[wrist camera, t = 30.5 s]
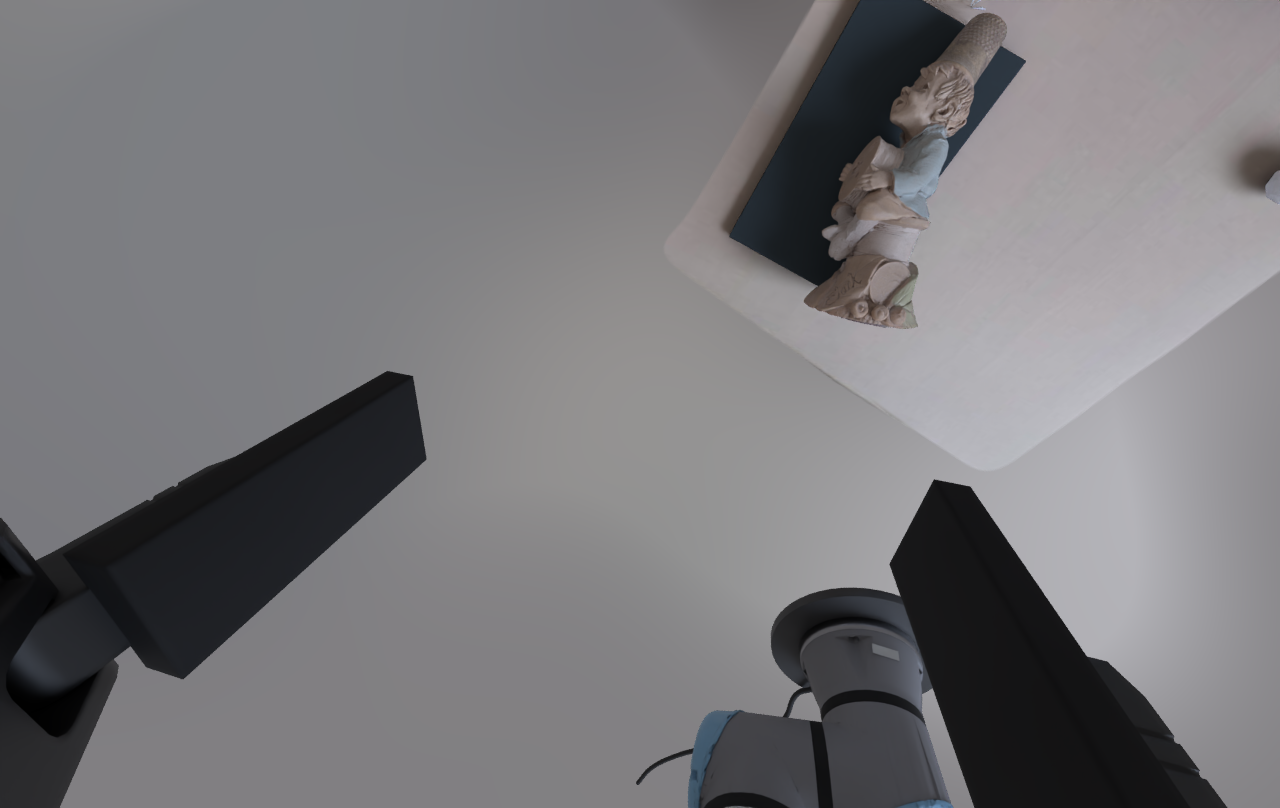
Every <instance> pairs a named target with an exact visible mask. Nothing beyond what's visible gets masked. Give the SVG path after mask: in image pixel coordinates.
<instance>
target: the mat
mask: <svg viewBox="0 0 1280 808" xmlns="http://www.w3.org/2000/svg"><path fill="white" fill-rule="evenodd" d="M964 27H965V25H964V24H962V23H960V22H959V21H957V20H955V19H954V18H952V17H950V16H948V15H947V14H945V13H943V12H942V11H940V10H938V9H936V8H935V7H933V6H931V5H930V4H928V3H926V2H924V1H923V0H860V1H859V3H858V5H857V7H856V8H855V10H854V12H853V14H852V16H851V17H850V19H849V21H848V23H847V25H846V26H845V28H844V30H843V32H842V34H841V35H840V37H839V39H838V41H837V43H836V44H835V46H834V48H833V50H832V52H831V53H830V55H829V57H828V59H827V61H826V62H825V64H824V66H823V68H822V70H821V71H820V73H819V75H818V77H817V79H816V80H815V82H814V84H813V86H812V88H811V89H810V91H809V93H808V95H807V97H806V98H805V100H804V102H803V104H802V106H801V107H800V109H799V111H798V113H797V115H796V116H795V118H794V120H793V122H792V124H791V125H790V127H789V129H788V131H787V133H786V134H785V136H784V138H783V140H782V142H781V143H780V145H779V147H778V149H777V151H776V152H775V154H774V156H773V158H772V160H771V161H770V163H769V165H768V167H767V169H766V170H765V172H764V174H763V176H762V178H761V179H760V181H759V183H758V185H757V187H756V188H755V190H754V192H753V194H752V196H751V197H750V199H749V201H748V203H747V205H746V206H745V208H744V210H743V212H742V214H741V215H740V217H739V219H738V221H737V223H736V224H735V226H734V228H733V230H732V232H731V233H730V235H729V237H731V238H732V239H734V240H736V241H738V242H740V243H741V244H743V245H745V246H747V247H749V248H750V249H752V250H754V251H756V252H758V253H759V254H761V255H763V256H765V257H767V258H769V259H770V260H772V261H774V262H776V263H778V264H779V265H781V266H783V267H785V268H787V269H788V270H790V271H792V272H794V273H796V274H797V275H799V276H801V277H803V278H805V279H806V280H808V281H810V282H812V283H814V284H815V285H817V286H819V285H821V284H822V283H824V282H825V281H826V280H828V279H830V278H831V277H832V276H833V274H834V273H835V272H836V271H838V270H839V269H840V268H841V266H842V264H843V262H845V261H846V259H847V258H844V259H841V260H840V261H837V260H835V259H834V258H833V257H830V255H829V253H828V252H829V247H830V243H831V241H829V240H828V239H826V238H824V237H823V235H822V230H823V229H825V228H827V227H829V226H832V225H838V222H837V221H836V220H835V219H833V217H832V215H831V212H832V208H833V207H834V205H835V204H836V203H837V202H838V201H839V199H838V196H839V192H840V189H841V186H842V184H843V181H840V180H839V178H840V177H841V173H842V171H843V169H844V168H845V165H846V164H847V163H851V164H853V163H854V161H855V160H856V159H857V157H858V156H859V154H860V153H861V152H862V151H863V149H864V148H865V147H866V146H867V145H868V144H869V143H870V142H871V141H872V140H873V139H874V138H875V137H877V136H881V138H882V139H883V140H884V141H885V142H886V143H888V144H892V145H893V146H895V147H896V148H900V139H899V136H900V133H901V132H902V131H903V130H902V129H901V128H900V127H898V126H896V125H895V124H893V123H892V122H891V121H890V113H891V108H892V105H893V102H894V101H895V99H897V98H898V97H900V96H901V91H902V88H903V87H905V86H908V87H912V86H913V85H914V83H915V81H916V80H917V79H918V78H919V77H920V76H921V72H920V71H921V69H922V68H927V67H928V66H929V65H931V64H932V63H934V62H935V61H936V60H937V59H938V58H939V57H940V56H941V55H942V54H943V52H944V51H945V50H946V49H947V48H948V46H949V45H950V44H951V42H952V41H953V40H954V39H955V38H956V36H957V35H958V34H959V33H960V32H961V30H962V29H963V28H964ZM1025 62H1026V61H1025V60H1024V59H1022V58H1020V57H1019V56H1017V55H1015V54H1013V53H1012V52H1010V51H1008V50H1007V49H1005V48H1003V47H1001V46H1000V47H999V49H998V50H997V52H996V53H995V55H994V56H993V58H992V59H991V61H990V63H989V64H988V65H987V67H986V68H985V70H984V71H983V73H982V74H981V76H980V77H979V79H978V80H977V82H976V84H975V85H974V94H973V95H974V97H973V102H972V103H971V106H970V108H969V110H970V111H969V115H968V116H967V118H966V119H967V122H966V124H965V125H964V126H963V127H961V128H960V129H959V130H958V131H957V132H956V133H955V134H954V135H952V136H951V137H948V138H946V140H947V142H948V145H949V147H948V153H947V157H946V160H945V162H944V164H943V166H942V168H941V172H940V174H939V176H940V175H941V174H942V172H943V171H944V170H945V168H946V167H947V166H948V164H949V163H950V162H951V161H952V159H953V158H954V157H955V155H956V154H957V153H958V151H959V150H960V149H961V147H962V146H963V145H964V143H965V142H966V141H967V139H968V138H969V137H970V135H971V134H972V133H973V131H974V130H975V129H976V127H977V126H978V125H979V123H980V122H981V121H982V119H983V118H984V117H985V115H986V114H987V113H988V111H989V110H990V109H991V107H992V106H993V105H994V103H995V102H996V101H997V99H998V98H999V97H1000V95H1001V94H1002V93H1003V91H1004V90H1005V89H1006V87H1007V86H1008V85H1009V83H1010V82H1011V81H1012V79H1013V78H1014V77H1015V76H1016V74H1017V73H1018V72H1019V70H1020V69H1021V68H1022V66H1023V65H1024V64H1025Z"/></svg>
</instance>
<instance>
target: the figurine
mask: <svg viewBox="0 0 1280 808" xmlns="http://www.w3.org/2000/svg"><path fill="white" fill-rule="evenodd" d="M1006 33H1007V27H1006V24H1005V22H1004V21H1003V20H1002V19H1001V18H1000V17H999V16H997V15H995V14H992V13H982V14H979V15H977V16H975V17H974V18H973V19H971V20H970V21H969V23H968V24H967V25H966V26H965V27H964V28H963V29H962V30H961V32H960V33H959V34H958V35H957V36H956V38H955V39H954V40H953V41H952V42H951V44H950V45H949V46H948V48H947V49H946V50H945V51H944V52H943V54H942V55H941V56H940V57H939V58H938V59H937V60H936V61H935V62H934V63H932V64H931V65H929V66H928V67H927V68H922V69H921V71H920V72H921V76H920V77H919V78H918V79H917V80H916V81H915V83H914V85H913V86H912V87H908V86H905V87H903V88H902V91H901V96H900V97H898V98H897V99H895V101H894V102H893V105H892V108H891V113H890V121H891V122H892V123H893V124H895V125H896V126H898V127H900V128H901V129H902V130H903V131H902V132H901V133H900V136H899V139H900V148H896V147H895V146H893V145H892V144H888V143H886V142H885V141H884V140H883V139H882V138H881V136H877V137H875V138H874V139H873V140H872V141H871V142H870V143H869V144H868V145H867V146H866V147H865V148H864V149H863V151H862V152H861V153H860V154H859V156H858V157H857V159H856V160H855V161H854V163H853V164H851V163H847V164H846V165H845V168H844V169H843V171H842V173H841V177H840V178H839V180H840V181H843V184H842V186H841V189H840V192H839V196H838V199H839V201H838V202H837V203H836V204H835V205H834V207H833V208H832V212H831V215H832V217H833V219H835V220H836V221H837V222H838V225H832V226H829V227H827V228H825V229H823V230H822V235H823V237H824V238H826V239H828V240H829V241H831V243H830V247H829V252H828V253H829V255H830V257H833V258H834V259H835V260H837V261H840V260H841V259H844V258H847V259H846V261H845V262H843V264H842V266H841V268H840V269H839V270H838V271H836V272H835V273H834V274H833V276H832V277H831V278H830V279H828V280H826V281H825V282H824V283H822V284H821V285H819V286H818V287H817V288H815V289H814V290H813V291H811V292H810V293H809V294H808V295H807V296H806V298H805V299H804V303H805V304H807V305H808V306H809V307H812V308H816V309H817V310H818V311H823V312H827V313H828V314H831V315H834V316H837V317H838V316H839V317H841V318H845V319H848V320H852V321H856V322H860V323H864V324H870V325H874V326H879V327H883V328H886V327H888V328H889V327H893V328H898V329H906V328H907V329H908V328H915V327H918V324H917V323H916V319H915V315H914V311H913V306H912V300H911V299H912V296H913V291H914V287H915V284H916V280H917V277H918V268H917V266H916V265H915V264H913V263H912V262H909V258H910V256H911V254H912V252H913V248H914V246H915V243H916V241H917V239H918V236H919V233H920V231H922V230H924V229H927V228H928V227H929V225H930V222H929V221H928V219H929V212H928V208H927V203H926V199H927V198H929V197H930V196H931V195H932V194H933V193H934V192H935V190H936V188H937V185H938V178H939V174H940V172H941V168H942V166H943V164H944V162H945V160H946V157H947V153H948V147H949V145H948V142H947V140H946V138H948V137H951V136H952V135H954V134H955V133H956V132H957V131H958V130H959V129H960V128H961V127H963V126H964V125H965V124H966V122H967V119H966V118H967V116H968V115H969V111H970V110H969V108H970V106H971V103H972V102H973V97H974V95H973V94H974V85H975V84H976V82H977V80H978V79H979V77H980V76H981V74H982V73H983V71H984V70H985V68H986V67H987V65H988V64H989V63H990V61H991V59H992V58H993V56H994V55H995V53H996V52H997V50H998V49H999V47H1000V46H1001V44H1002V42H1003V40H1004V38H1005V36H1006Z"/></svg>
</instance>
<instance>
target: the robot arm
mask: <svg viewBox="0 0 1280 808" xmlns="http://www.w3.org/2000/svg"><path fill="white" fill-rule="evenodd" d="M425 460H426V454H425V447H424V441H423V435H422V429H421V422H420V417H419V410H418V404H417V398H416V392H415V386H414V380H413V376H410V375H404V374H400V373H394V372H390V371H387V372H385V373H383V374H381V375H379V376H378V377H376V378H374V379H372V380H371V381H369V382H367V383H365V384H363V385H362V386H360V387H359V388H356V389H355V390H353V391H351V392H349V393H347V394H346V395H344V396H342V397H340V398H339V399H337V400H335V401H333V402H332V403H330V404H328V405H326V406H324V407H323V408H321V409H319V410H317V411H316V412H314V413H312V414H310V415H308V416H307V417H305V418H303V419H301V420H300V421H298V422H296V423H294V424H292V425H291V426H289V427H287V428H285V429H284V430H282V431H280V432H278V433H277V434H275V435H273V436H271V437H269V438H268V439H266V440H264V441H262V442H260V443H259V444H257V445H255V446H253V447H252V448H250V449H248V450H246V451H244V452H243V453H241V454H239V455H237V456H236V457H233V458H230V459H228V460H225V461H222V462H219V463H216V464H214V465H211V466H208V467H206V468H204V469H202V470H201V471H199V472H197V473H195V474H194V475H192V476H190V477H188V478H186V479H185V480H183V481H181V482H179V483H178V486H176V487H174V486H172V487H170V488H168V489H166V490H164V491H163V492H161V493H159V494H157V495H155V496H154V498H153V500H151V501H149V500H146V501H144V502H143V503H141V504H139V505H137V506H135V507H134V508H132V509H130V510H128V511H126V512H125V513H123V514H121V515H119V516H117V517H115V518H114V519H112V520H110V521H108V522H107V523H105V524H103V525H101V526H99V527H97V528H96V529H94V530H92V531H90V532H88V533H87V534H85V535H83V536H81V537H79V538H78V539H76V540H74V541H72V542H70V543H69V544H67V545H65V546H63V547H61V548H60V549H58V550H56V551H54V552H52V553H50V554H48V555H46V556H44V557H42V558H40V559H38V560H36V561H35V560H34V558H33V557H32V556H31V555H30V553H29V552H28V551H27V549H26V548H25V547H24V546H23V545H22V543H21V542H20V541H19V540H18V538H17V537H16V535H15V534H14V533H13V532H12V531H11V529H10V528H9V527H8V525H7V524H6V523H5V522H4V521H3V520H2V519H1V518H0V808H60V805H61V803H62V801H63V799H64V796H65V794H66V792H67V790H68V787H69V785H70V783H71V780H72V778H73V776H74V774H75V771H76V769H77V767H78V765H79V762H80V760H81V758H82V755H83V753H84V751H85V748H86V746H87V744H88V742H89V740H90V737H91V735H92V732H93V730H94V728H95V726H96V724H97V721H98V719H99V716H100V715H101V712H102V710H103V707H104V705H105V703H106V701H107V699H108V696H109V694H110V692H111V690H112V687H113V685H114V683H115V681H116V678H117V673H118V667H119V666H118V664H117V663H116V662H115V661H114V658H116V657H117V656H118V655H119V654H121V653H122V652H123V651H124V650H126V649H127V648H129V647H130V646H131V647H132V649H133V650H134V651H135V653H136V654H137V655H138V657H139V658H140V659H141V661H142V662H143V663H144V665H145V666H146V667H147V668H150V669H153V670H156V671H160V672H163V673H165V674H168V675H172V676H174V677H177V678H180V679H184V678H185V677H186V676H187V675H188V674H190V673H191V672H192V671H193V670H194V669H195V668H196V667H197V666H198V665H199V664H201V663H202V662H203V661H204V660H205V659H206V658H207V657H208V656H210V654H212V653H213V652H214V651H215V650H216V649H217V648H218V647H220V646H221V645H222V644H223V643H224V642H225V641H226V640H227V639H228V638H229V637H231V636H232V635H233V634H234V633H235V632H236V631H237V630H238V629H239V628H240V627H242V626H243V625H244V624H245V623H246V622H247V621H248V620H249V619H250V618H252V617H253V616H254V615H255V614H256V613H257V612H258V611H259V610H260V609H261V608H263V607H264V606H265V605H266V604H267V603H268V602H269V601H270V600H272V599H273V598H274V597H275V596H276V595H277V594H278V593H279V592H280V591H281V590H283V589H284V588H285V587H286V586H287V585H288V584H289V583H290V582H291V581H293V580H294V579H295V578H296V577H297V576H298V575H299V574H300V573H301V572H302V571H304V570H305V569H306V568H307V567H308V566H309V565H310V564H311V563H312V562H313V561H314V560H316V559H317V558H318V557H319V556H320V555H321V554H322V553H324V552H325V551H326V550H327V549H328V548H329V547H330V546H331V545H332V544H333V543H335V542H336V541H337V540H338V539H339V538H340V537H341V536H342V535H343V534H345V533H346V532H347V531H348V530H349V529H350V528H351V527H352V526H353V525H354V524H356V523H357V522H358V521H359V520H360V519H361V518H362V517H363V516H364V515H365V514H367V513H368V512H369V511H370V510H371V509H372V508H373V507H374V506H376V505H377V504H378V503H379V502H380V501H381V500H382V499H383V498H384V497H385V496H387V495H388V494H389V493H390V492H391V491H392V490H393V489H394V488H395V487H397V486H398V485H399V484H400V483H401V482H402V481H403V480H404V479H405V478H406V477H408V476H409V475H410V474H411V473H412V472H413V471H414V470H415V469H416V468H418V467H419V466H420V465H421V464H422V463H423V462H424V461H425ZM890 567H891V570H892V573H893V576H894V579H895V581H896V584H897V587H898V590H899V593H900V596H901V599H902V601H903V604H904V607H905V610H906V613H907V616H908V619H909V621H910V624H911V627H912V630H913V633H914V636H915V639H916V642H917V644H918V647H919V650H920V653H921V656H922V659H923V662H924V664H925V667H926V670H927V673H928V676H929V679H930V682H931V685H932V687H933V690H934V692H935V696H936V699H937V702H938V705H939V707H940V710H941V713H942V716H943V719H944V722H945V725H946V727H947V730H948V733H949V736H950V739H951V742H952V744H953V748H954V750H955V753H956V756H957V759H958V762H959V765H960V768H961V770H962V773H963V776H964V779H965V782H966V785H967V788H968V790H969V793H970V796H971V799H972V802H973V805H974V808H1227V807H1226V805H1225V804H1224V803H1223V801H1222V800H1221V798H1220V797H1219V796H1218V794H1217V793H1216V792H1215V790H1214V789H1213V788H1212V786H1211V785H1210V784H1209V782H1208V781H1207V780H1206V779H1202V778H1201V777H1200V775H1199V771H1200V770H1199V769H1198V768H1197V766H1196V765H1195V764H1194V762H1193V761H1192V760H1191V758H1190V757H1189V756H1188V754H1187V753H1186V751H1185V750H1184V749H1183V747H1182V746H1181V745H1180V744H1177V743H1175V742H1174V735H1173V734H1172V733H1171V731H1170V730H1169V729H1168V727H1167V726H1166V725H1165V723H1164V722H1163V721H1162V719H1161V718H1160V716H1159V715H1158V714H1157V713H1156V711H1155V710H1154V709H1153V707H1152V706H1151V704H1150V703H1149V702H1148V700H1147V699H1146V698H1145V697H1144V696H1143V695H1142V694H1141V693H1140V692H1139V691H1138V690H1137V689H1136V688H1135V687H1134V686H1133V685H1132V684H1131V683H1130V682H1128V681H1127V680H1126V679H1125V678H1124V677H1123V676H1122V675H1121V674H1120V673H1119V672H1118V671H1117V670H1116V669H1115V668H1113V667H1112V666H1111V665H1110V664H1109V663H1108V662H1107V661H1103V660H1099V659H1095V658H1091V657H1087V656H1086V655H1085V653H1084V652H1083V651H1082V649H1081V647H1080V646H1079V645H1078V643H1077V641H1076V640H1075V638H1074V637H1073V636H1072V634H1071V633H1070V631H1069V630H1068V628H1067V627H1066V625H1065V624H1064V622H1063V621H1062V620H1061V618H1060V617H1059V615H1058V614H1057V612H1056V611H1055V610H1054V608H1053V606H1052V605H1051V604H1050V602H1049V601H1048V599H1047V598H1046V596H1045V595H1044V593H1043V592H1042V590H1041V589H1040V588H1039V586H1038V585H1037V583H1036V582H1035V580H1034V579H1033V577H1032V576H1031V574H1030V573H1029V572H1028V570H1027V569H1026V567H1025V566H1024V564H1023V563H1022V561H1021V560H1020V558H1019V557H1018V555H1017V554H1016V552H1015V551H1014V550H1013V548H1012V547H1011V545H1010V544H1009V542H1008V541H1007V539H1006V538H1005V537H1004V535H1003V534H1002V532H1001V531H1000V529H999V528H998V526H997V525H996V524H995V522H994V521H993V519H992V518H991V516H990V515H989V513H988V512H987V510H986V509H985V507H984V506H983V504H982V503H981V501H980V500H979V499H978V497H977V496H976V494H975V493H974V491H973V490H972V488H971V487H970V486H964V485H959V484H954V483H949V482H944V481H939V480H934V481H933V482H932V484H931V486H930V488H929V490H928V492H927V494H926V496H925V498H924V499H923V501H922V503H921V505H920V507H919V509H918V511H917V513H916V515H915V517H914V518H913V521H912V522H911V524H910V526H909V528H908V530H907V532H906V534H905V536H904V537H903V539H902V541H901V543H900V545H899V547H898V549H897V551H896V553H895V555H894V556H893V558H892V560H891V562H890ZM799 653H800V663H801V667H802V670H803V672H804V674H805V676H806V678H807V680H808V681H809V683H810V687H806V688H801V689H799V690H797V691H796V692H795V693H794V694H793V695H792V697H791V698H790V700H789V703H788V707H787V710H786V712H785V714H784V716H783V717H777V716H769V715H762V714H755V713H747V712H744V711H741V710H738V711H737V710H736V711H718V710H717V711H714V712H711V713H709V714H708V715H707V716H706V717H705V718H704V720H703V721H702V723H701V725H700V728H699V730H698V733H697V737H696V741H695V745H694V748H693V749H689V750H685V751H682V752H679V753H676V754H673V755H671V756H668V757H666V758H664V759H661V760H660V761H658V762H656V763H654V764H653V765H651V766H650V767H649V768H647V769H646V770H645V772H644V773H643V774H642V775H641V777H640V778H639V779H638V780H637V782H636V784H637V785H639V784H640V783H641V782H642V780H643V779H644V778H645V776H646V775H647V774H648V773H649V772H650V771H651V770H653V769H654V768H656V767H657V766H659V765H661V764H663V763H665V762H667V761H670V760H673V759H675V758H678V757H682V756H685V755H688V754H693V755H692V760H691V776H690V779H689V787H688V808H953V806H952V805H951V802H950V799H949V796H948V793H947V790H946V787H945V784H944V780H943V777H942V774H941V771H940V768H939V765H938V762H937V759H936V755H935V753H934V749H933V746H932V743H931V740H930V737H929V733H928V730H927V728H926V725H925V721H924V718H923V714H922V688H921V682H922V678H923V665H922V661H921V658H920V655H919V652H918V649H917V647H916V645H915V643H914V642H913V641H912V639H911V638H910V637H909V636H908V635H907V634H905V633H904V632H903V631H901V630H900V629H898V628H896V627H894V626H892V625H890V624H888V623H885V622H882V621H879V620H875V619H869V618H862V617H843V618H836V619H831V620H828V621H825V622H822V623H820V624H818V625H816V626H814V627H813V628H811V629H810V630H809V631H808V632H806V634H805V635H804V636H803V638H802V640H801V642H800V646H799ZM809 692H813V694H814V696H815V699H816V701H817V704H818V706H819V708H820V713H821V719H822V722H816V721H808V720H801V719H793V718H788V717H789V715H790V713H791V710H792V707H793V704H794V702H795V700H796V699H797V697H798V696H799V695H801V694H804V693H809Z"/></svg>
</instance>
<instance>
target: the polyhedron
mask: <svg viewBox="0 0 1280 808" xmlns="http://www.w3.org/2000/svg"><path fill="white" fill-rule="evenodd" d="M1265 188H1266V197H1267V198H1268V199H1270V200H1272V201H1274V202H1275V203H1277V204H1280V170H1278V171H1277V172H1275V173H1274V175H1273V176H1272V177H1271V179H1270V180H1269V181H1268V183H1267V184H1266V185H1265Z"/></svg>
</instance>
